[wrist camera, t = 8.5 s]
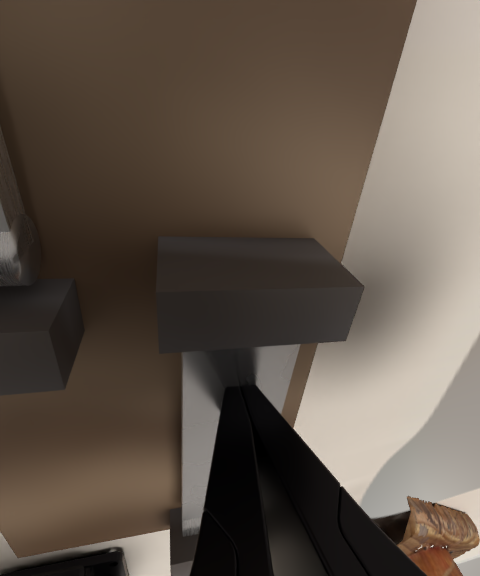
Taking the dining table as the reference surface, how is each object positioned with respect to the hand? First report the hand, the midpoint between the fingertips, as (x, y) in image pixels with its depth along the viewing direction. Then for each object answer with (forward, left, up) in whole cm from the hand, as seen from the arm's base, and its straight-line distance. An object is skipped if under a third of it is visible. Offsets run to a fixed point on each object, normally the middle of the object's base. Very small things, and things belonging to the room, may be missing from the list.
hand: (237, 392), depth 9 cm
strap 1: (-3, 0, -1) cm, 3 cm away
